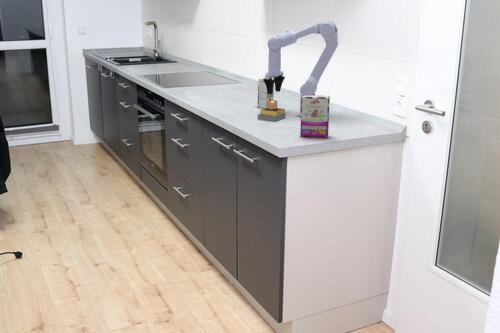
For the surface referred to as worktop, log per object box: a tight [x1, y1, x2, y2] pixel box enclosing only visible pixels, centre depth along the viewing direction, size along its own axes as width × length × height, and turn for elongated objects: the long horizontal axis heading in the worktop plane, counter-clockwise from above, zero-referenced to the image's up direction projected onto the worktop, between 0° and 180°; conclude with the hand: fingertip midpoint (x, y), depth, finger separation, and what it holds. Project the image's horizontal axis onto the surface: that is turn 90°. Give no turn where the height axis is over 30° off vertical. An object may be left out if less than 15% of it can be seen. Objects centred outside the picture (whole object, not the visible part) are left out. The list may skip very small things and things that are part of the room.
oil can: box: [267, 97, 278, 111], centre depth 257 cm, size 5×5×7 cm
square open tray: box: [257, 107, 287, 123], centre depth 257 cm, size 9×10×4 cm
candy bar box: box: [299, 94, 331, 139], centre depth 225 cm, size 11×5×16 cm, turn 80°
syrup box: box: [257, 77, 275, 109], centre depth 280 cm, size 6×6×14 cm
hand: (273, 92), depth 266 cm, fingers open, 7 cm apart
